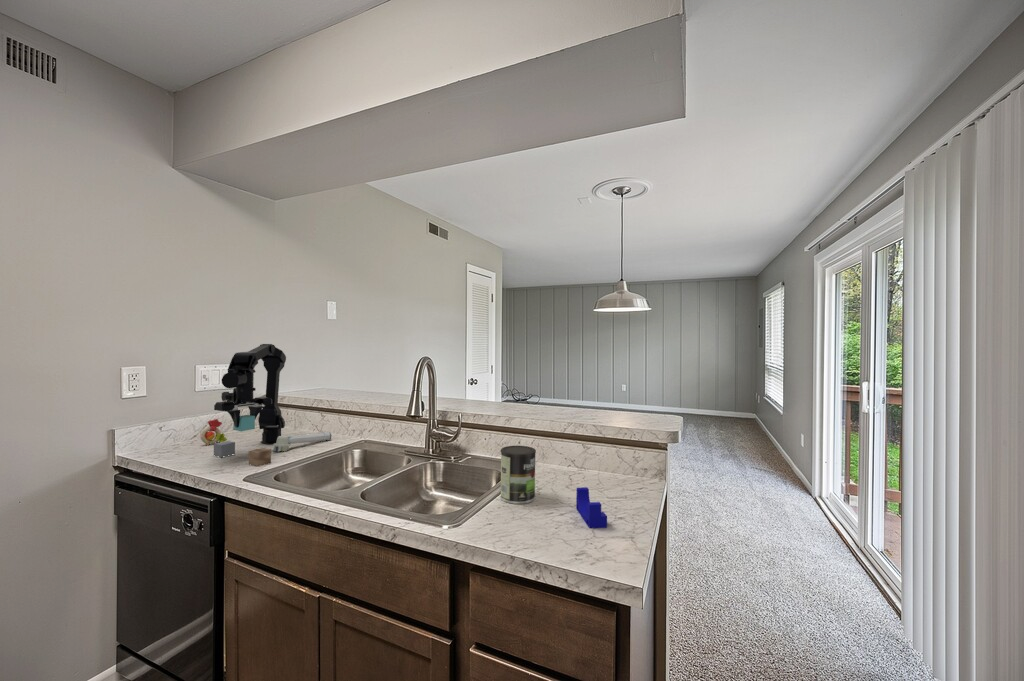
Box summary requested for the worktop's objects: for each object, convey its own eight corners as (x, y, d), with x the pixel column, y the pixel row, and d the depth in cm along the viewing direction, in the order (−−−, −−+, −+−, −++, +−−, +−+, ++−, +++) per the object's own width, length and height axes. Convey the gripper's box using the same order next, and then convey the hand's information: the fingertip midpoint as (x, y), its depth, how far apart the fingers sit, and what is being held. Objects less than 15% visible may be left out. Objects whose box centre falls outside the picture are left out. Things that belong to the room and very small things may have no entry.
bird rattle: (211, 451, 175) (233, 438, 183) (200, 429, 171) (222, 417, 179) (204, 449, 178) (225, 437, 186) (192, 427, 174) (214, 415, 182)
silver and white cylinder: (333, 432, 188) (280, 435, 167) (331, 447, 187) (277, 452, 166) (325, 430, 191) (272, 433, 169) (323, 445, 190) (269, 450, 168)
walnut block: (262, 461, 156) (262, 447, 156) (270, 463, 153) (271, 449, 153) (248, 464, 151) (248, 450, 151) (257, 466, 149) (257, 452, 149)
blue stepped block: (606, 528, 103) (607, 504, 103) (589, 529, 103) (589, 504, 103) (592, 508, 115) (592, 487, 115) (576, 509, 115) (576, 487, 115)
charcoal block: (227, 453, 165) (227, 440, 165) (234, 455, 163) (235, 442, 163) (213, 456, 161) (213, 443, 161) (221, 458, 159) (221, 445, 159)
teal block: (246, 427, 163) (246, 414, 163) (254, 428, 161) (254, 415, 161) (233, 429, 159) (233, 416, 159) (241, 431, 156) (241, 418, 156)
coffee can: (541, 495, 124) (542, 448, 124) (523, 507, 115) (524, 456, 115) (512, 488, 130) (512, 443, 130) (493, 499, 121) (493, 450, 121)
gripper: (255, 382, 172) (255, 420, 172) (205, 386, 155) (205, 428, 155) (273, 383, 167) (272, 422, 167) (223, 388, 150) (222, 431, 150)
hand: (244, 426), depth 160 cm, fingers closed on teal block, 5 cm apart
